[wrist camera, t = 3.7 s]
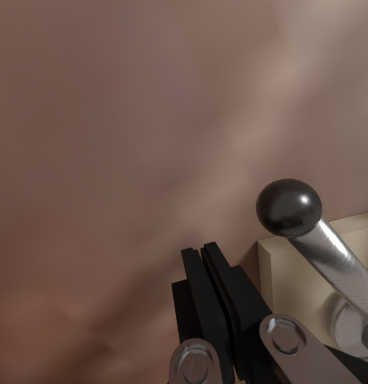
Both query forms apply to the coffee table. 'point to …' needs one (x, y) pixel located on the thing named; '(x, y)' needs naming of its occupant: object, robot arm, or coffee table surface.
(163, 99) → the coffee table surface
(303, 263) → the stand
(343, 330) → the ball-knob lever handle
